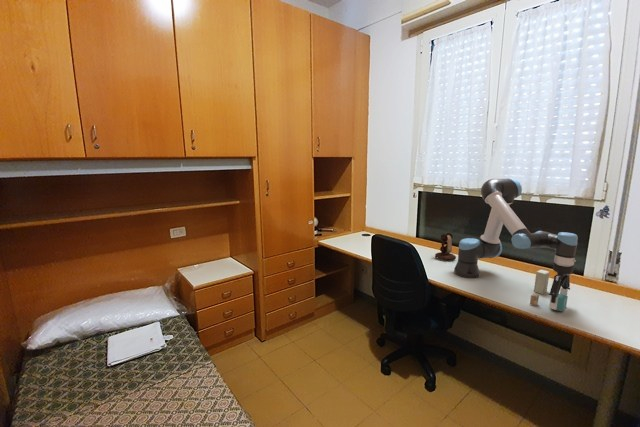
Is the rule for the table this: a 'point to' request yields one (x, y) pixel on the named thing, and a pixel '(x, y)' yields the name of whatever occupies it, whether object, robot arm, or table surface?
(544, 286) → the skincare box
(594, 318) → the table surface
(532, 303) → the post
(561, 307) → the teal block
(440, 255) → the brown statuette
